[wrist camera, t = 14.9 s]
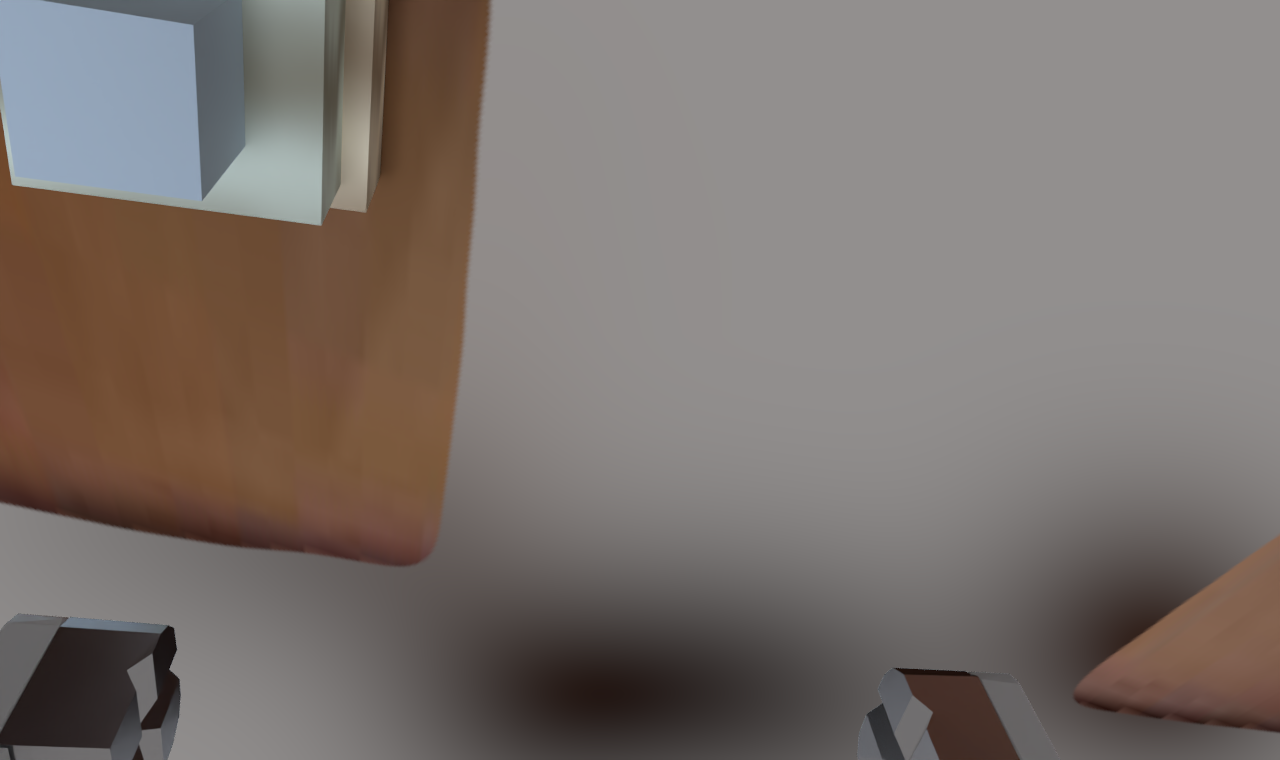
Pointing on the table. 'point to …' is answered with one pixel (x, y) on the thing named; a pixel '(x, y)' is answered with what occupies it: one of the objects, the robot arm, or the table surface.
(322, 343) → the table surface
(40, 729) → the robot arm
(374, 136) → the cream stepped block
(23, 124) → the slate brick
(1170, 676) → the table surface
